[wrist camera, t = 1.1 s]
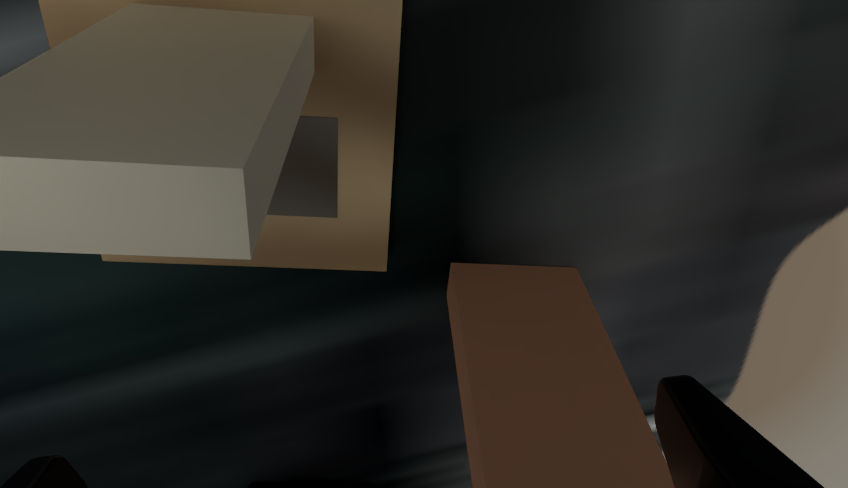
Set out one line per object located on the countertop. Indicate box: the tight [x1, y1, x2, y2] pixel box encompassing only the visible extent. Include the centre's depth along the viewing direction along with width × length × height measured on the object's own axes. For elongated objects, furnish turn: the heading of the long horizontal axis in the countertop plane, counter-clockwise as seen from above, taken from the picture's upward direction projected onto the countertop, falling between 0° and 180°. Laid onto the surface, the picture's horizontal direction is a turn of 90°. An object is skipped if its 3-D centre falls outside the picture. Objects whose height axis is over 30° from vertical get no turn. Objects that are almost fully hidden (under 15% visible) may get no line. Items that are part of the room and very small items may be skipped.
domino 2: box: [447, 263, 675, 488], centre depth 20 cm, size 2×5×10 cm, turn 86°
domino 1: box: [0, 3, 315, 260], centre depth 13 cm, size 2×5×10 cm, turn 85°
